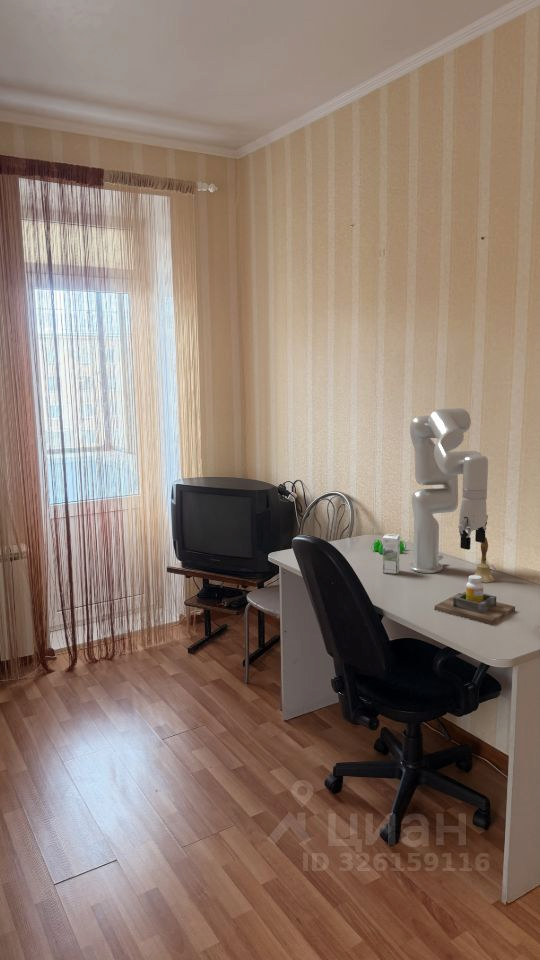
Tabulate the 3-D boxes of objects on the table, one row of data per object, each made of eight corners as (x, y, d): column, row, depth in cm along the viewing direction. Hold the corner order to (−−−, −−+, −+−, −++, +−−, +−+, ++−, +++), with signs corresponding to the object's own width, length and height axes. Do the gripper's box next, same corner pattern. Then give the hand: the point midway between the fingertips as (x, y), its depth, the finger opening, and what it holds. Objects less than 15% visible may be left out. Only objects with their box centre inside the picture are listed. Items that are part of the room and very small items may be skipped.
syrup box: (399, 570, 270) (400, 534, 267) (397, 574, 264) (397, 537, 262) (385, 569, 272) (385, 533, 269) (382, 573, 266) (382, 537, 264)
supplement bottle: (463, 603, 228) (464, 574, 227) (479, 602, 229) (480, 574, 227) (469, 608, 223) (469, 579, 221) (485, 608, 223) (486, 578, 222)
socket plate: (459, 597, 238) (459, 584, 238) (515, 610, 225) (515, 597, 224) (434, 609, 227) (434, 596, 226) (491, 625, 213) (492, 611, 212)
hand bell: (477, 574, 262) (478, 533, 260) (498, 578, 257) (499, 536, 254) (467, 580, 256) (468, 538, 253) (489, 584, 251) (490, 541, 248)
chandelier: (368, 547, 304) (367, 532, 303) (401, 546, 305) (401, 530, 304) (374, 556, 290) (374, 540, 288) (410, 555, 290) (410, 539, 289)
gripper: (476, 487, 230) (475, 537, 233) (450, 496, 218) (448, 549, 221) (498, 490, 225) (496, 541, 228) (472, 500, 213) (470, 553, 216)
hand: (472, 545), depth 225 cm, fingers open, 9 cm apart
